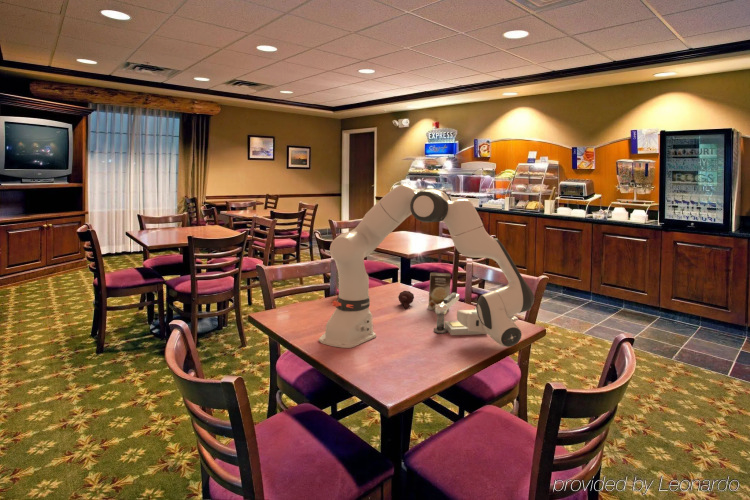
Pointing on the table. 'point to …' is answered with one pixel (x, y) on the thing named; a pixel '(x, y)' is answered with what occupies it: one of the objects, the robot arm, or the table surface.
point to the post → (440, 324)
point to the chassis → (458, 328)
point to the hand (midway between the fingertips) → (477, 309)
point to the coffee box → (438, 288)
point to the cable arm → (446, 303)
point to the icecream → (406, 298)
